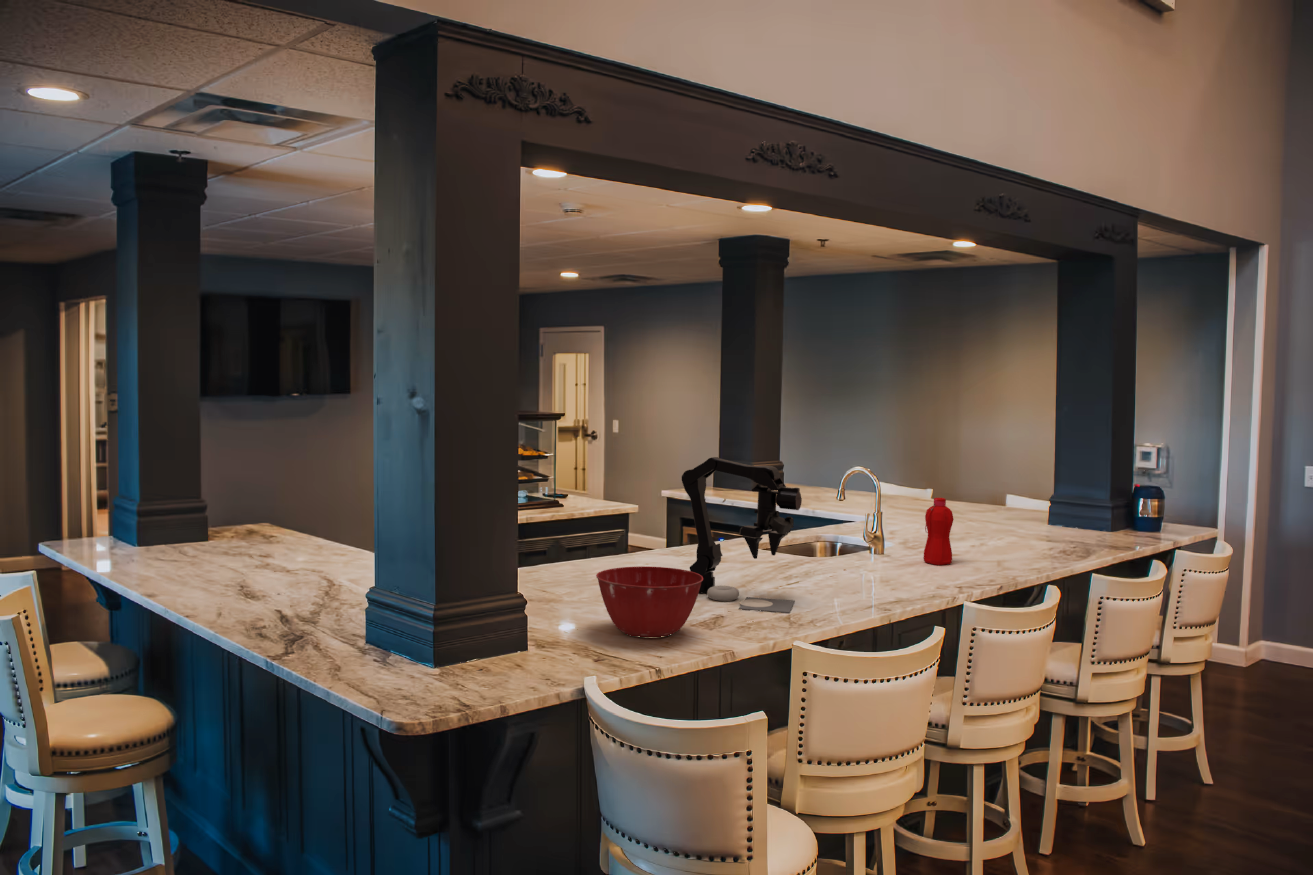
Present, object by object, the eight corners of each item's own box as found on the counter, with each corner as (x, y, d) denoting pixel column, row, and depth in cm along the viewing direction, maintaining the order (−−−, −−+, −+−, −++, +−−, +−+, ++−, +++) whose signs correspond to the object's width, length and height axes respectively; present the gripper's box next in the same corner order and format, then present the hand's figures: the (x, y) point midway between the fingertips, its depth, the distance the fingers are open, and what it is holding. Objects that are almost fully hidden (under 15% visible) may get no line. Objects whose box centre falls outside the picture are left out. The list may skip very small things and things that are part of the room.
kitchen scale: (735, 609, 286) (735, 607, 286) (743, 597, 301) (743, 596, 301) (789, 613, 282) (789, 611, 282) (795, 601, 298) (795, 599, 298)
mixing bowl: (642, 614, 278) (643, 560, 277) (723, 631, 260) (724, 574, 259) (573, 632, 256) (574, 574, 255) (656, 653, 238) (657, 591, 237)
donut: (745, 601, 297) (729, 593, 307) (745, 590, 297) (729, 583, 306) (716, 603, 293) (701, 596, 302) (716, 592, 293) (701, 585, 302)
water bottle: (916, 562, 368) (918, 497, 367) (938, 560, 373) (941, 496, 372) (932, 566, 360) (935, 499, 359) (955, 564, 365) (957, 498, 363)
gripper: (769, 512, 286) (766, 564, 287) (805, 508, 300) (803, 557, 301) (739, 507, 294) (737, 558, 295) (777, 503, 307) (774, 552, 309)
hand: (764, 556), depth 300 cm, fingers open, 9 cm apart
